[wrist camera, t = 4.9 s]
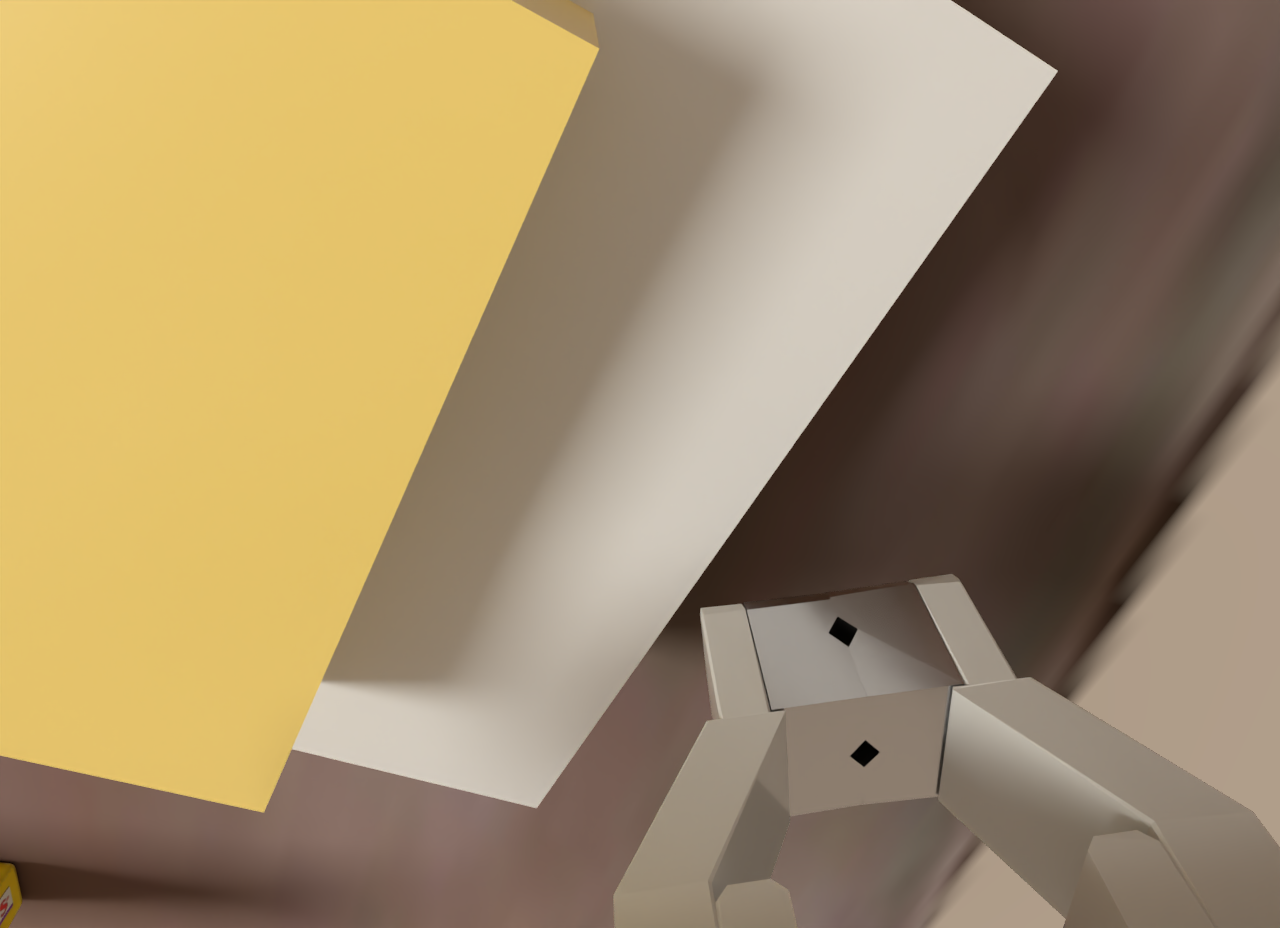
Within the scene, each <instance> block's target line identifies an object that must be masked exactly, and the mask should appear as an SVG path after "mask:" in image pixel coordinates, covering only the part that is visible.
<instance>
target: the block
mask: <svg viewBox="0 0 1280 928" xmlns="http://www.w3.org/2000/svg"><path fill="white" fill-rule="evenodd" d="M598 51H599V43H598V38H597V32H596V26H595V21H594V15H593V13H591V12H589V11H587V10H586V9H584V8H582V7H580V6H579V5H577V4H575V3H573V2H571V1H570V0H0V755H1V756H5V757H10V758H14V759H19V760H24V761H28V762H33V763H38V764H42V765H47V766H51V767H56V768H61V769H65V770H70V771H75V772H79V773H84V774H88V775H93V776H98V777H102V778H107V779H111V780H116V781H121V782H125V783H130V784H135V785H139V786H144V787H148V788H153V789H158V790H162V791H167V792H172V793H176V794H181V795H185V796H190V797H195V798H199V799H204V800H209V801H213V802H218V803H222V804H227V805H232V806H236V807H241V808H246V809H250V810H255V811H259V812H264V811H265V808H266V806H267V804H268V802H269V799H270V797H271V795H272V793H273V790H274V788H275V786H276V783H277V781H278V779H279V777H280V774H281V772H282V770H283V768H284V765H285V763H286V761H287V758H288V756H289V754H290V752H291V749H292V747H293V745H294V743H295V740H296V738H297V736H298V733H299V731H300V729H301V727H302V724H303V722H304V720H305V718H306V715H307V713H308V711H309V708H310V706H311V704H312V702H313V699H314V697H315V695H316V692H317V690H318V688H319V686H320V683H321V681H322V679H323V677H324V674H325V672H326V670H327V667H328V665H329V663H330V661H331V658H332V656H333V654H334V652H335V649H336V647H337V645H338V642H339V640H340V638H341V636H342V633H343V631H344V629H345V627H346V624H347V622H348V620H349V617H350V615H351V613H352V611H353V608H354V606H355V604H356V601H357V599H358V597H359V595H360V592H361V590H362V588H363V586H364V583H365V581H366V579H367V576H368V574H369V572H370V570H371V567H372V565H373V563H374V561H375V558H376V556H377V554H378V551H379V549H380V547H381V545H382V542H383V540H384V538H385V536H386V533H387V531H388V529H389V526H390V524H391V522H392V520H393V517H394V515H395V513H396V510H397V508H398V506H399V504H400V501H401V499H402V497H403V495H404V492H405V490H406V488H407V485H408V483H409V481H410V479H411V476H412V474H413V472H414V470H415V467H416V465H417V463H418V460H419V458H420V456H421V454H422V451H423V449H424V447H425V445H426V442H427V440H428V438H429V435H430V433H431V431H432V429H433V426H434V424H435V422H436V419H437V417H438V415H439V413H440V410H441V408H442V406H443V404H444V401H445V399H446V397H447V394H448V392H449V390H450V388H451V385H452V383H453V381H454V379H455V376H456V374H457V372H458V369H459V367H460V365H461V363H462V360H463V358H464V356H465V354H466V351H467V349H468V347H469V344H470V342H471V340H472V338H473V335H474V333H475V331H476V328H477V326H478V324H479V322H480V319H481V317H482V315H483V313H484V310H485V308H486V306H487V303H488V301H489V299H490V297H491V294H492V292H493V290H494V288H495V285H496V283H497V281H498V278H499V276H500V274H501V272H502V269H503V267H504V265H505V263H506V260H507V258H508V256H509V253H510V251H511V249H512V247H513V244H514V242H515V240H516V238H517V235H518V233H519V231H520V228H521V226H522V224H523V222H524V219H525V217H526V215H527V212H528V210H529V208H530V206H531V203H532V201H533V199H534V197H535V194H536V192H537V190H538V187H539V185H540V183H541V181H542V178H543V176H544V174H545V172H546V169H547V167H548V165H549V162H550V160H551V158H552V156H553V153H554V151H555V149H556V147H557V144H558V142H559V140H560V137H561V135H562V133H563V131H564V128H565V126H566V124H567V121H568V119H569V117H570V115H571V112H572V110H573V108H574V106H575V103H576V101H577V99H578V96H579V94H580V92H581V90H582V87H583V85H584V83H585V81H586V78H587V76H588V74H589V71H590V69H591V67H592V65H593V62H594V60H595V58H596V56H597V53H598Z"/></svg>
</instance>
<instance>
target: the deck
mask: <svg viewBox="0 0 1280 928" xmlns="http://www.w3.org/2000/svg"><path fill="white" fill-rule="evenodd" d="M570 1H571V2H573V3H575V4H577V5H579V6H580V7H582V8H584V9H586V10H587V11H589V12H591V13H593V15H594V21H595V26H596V32H597V38H598V43H599V51H598V53H597V56H596V58H595V60H594V62H593V65H592V67H591V69H590V71H589V74H588V76H587V78H586V81H585V83H584V85H583V87H582V90H581V92H580V94H579V96H578V99H577V101H576V103H575V106H574V108H573V110H572V112H571V115H570V117H569V119H568V121H567V124H566V126H565V128H564V131H563V133H562V135H561V137H560V140H559V142H558V144H557V147H556V149H555V151H554V153H553V156H552V158H551V160H550V162H549V165H548V167H547V169H546V172H545V174H544V176H543V178H542V181H541V183H540V185H539V187H538V190H537V192H536V194H535V197H534V199H533V201H532V203H531V206H530V208H529V210H528V212H527V215H526V217H525V219H524V222H523V224H522V226H521V228H520V231H519V233H518V235H517V238H516V240H515V242H514V244H513V247H512V249H511V251H510V253H509V256H508V258H507V260H506V263H505V265H504V267H503V269H502V272H501V274H500V276H499V278H498V281H497V283H496V285H495V288H494V290H493V292H492V294H491V297H490V299H489V301H488V303H487V306H486V308H485V310H484V313H483V315H482V317H481V319H480V322H479V324H478V326H477V328H476V331H475V333H474V335H473V338H472V340H471V342H470V344H469V347H468V349H467V351H466V354H465V356H464V358H463V360H462V363H461V365H460V367H459V369H458V372H457V374H456V376H455V379H454V381H453V383H452V385H451V388H450V390H449V392H448V394H447V397H446V399H445V401H444V404H443V406H442V408H441V410H440V413H439V415H438V417H437V419H436V422H435V424H434V426H433V429H432V431H431V433H430V435H429V438H428V440H427V442H426V445H425V447H424V449H423V451H422V454H421V456H420V458H419V460H418V463H417V465H416V467H415V470H414V472H413V474H412V476H411V479H410V481H409V483H408V485H407V488H406V490H405V492H404V495H403V497H402V499H401V501H400V504H399V506H398V508H397V510H396V513H395V515H394V517H393V520H392V522H391V524H390V526H389V529H388V531H387V533H386V536H385V538H384V540H383V542H382V545H381V547H380V549H379V551H378V554H377V556H376V558H375V561H374V563H373V565H372V567H371V570H370V572H369V574H368V576H367V579H366V581H365V583H364V586H363V588H362V590H361V592H360V595H359V597H358V599H357V601H356V604H355V606H354V608H353V611H352V613H351V615H350V617H349V620H348V622H347V624H346V627H345V629H344V631H343V633H342V636H341V638H340V640H339V642H338V645H337V647H336V649H335V652H334V654H333V656H332V658H331V661H330V663H329V665H328V667H327V670H326V672H325V674H324V677H323V679H322V681H321V683H320V686H319V688H318V690H317V692H316V695H315V697H314V699H313V702H312V704H311V706H310V708H309V711H308V713H307V715H306V718H305V720H304V722H303V724H302V727H301V729H300V731H299V733H298V736H297V738H296V740H295V743H294V745H293V747H292V749H294V750H298V751H302V752H306V753H310V754H314V755H318V756H323V757H327V758H331V759H335V760H339V761H343V762H347V763H352V764H356V765H360V766H364V767H368V768H372V769H376V770H381V771H385V772H389V773H393V774H397V775H401V776H406V777H410V778H414V779H418V780H422V781H426V782H430V783H435V784H439V785H443V786H447V787H451V788H455V789H459V790H464V791H468V792H472V793H476V794H480V795H484V796H489V797H493V798H497V799H501V800H505V801H509V802H513V803H518V804H522V805H526V806H530V807H534V808H537V807H538V805H539V804H540V802H541V801H542V800H543V798H544V797H545V795H546V794H547V793H548V791H549V790H550V788H551V787H552V786H553V784H554V783H555V781H556V780H557V778H558V777H559V776H560V774H561V773H562V771H563V770H564V769H565V767H566V766H567V764H568V763H569V761H570V760H571V759H572V757H573V756H574V754H575V753H576V752H577V750H578V749H579V747H580V746H581V745H582V743H583V742H584V740H585V739H586V737H587V736H588V735H589V733H590V732H591V730H592V729H593V728H594V726H595V725H596V723H597V722H598V720H599V719H600V718H601V716H602V715H603V713H604V712H605V711H606V709H607V708H608V706H609V705H610V704H611V702H612V701H613V699H614V698H615V696H616V695H617V694H618V692H619V691H620V689H621V688H622V687H623V685H624V684H625V682H626V681H627V680H628V678H629V677H630V675H631V674H632V672H633V671H634V670H635V668H636V667H637V665H638V664H639V663H640V661H641V660H642V658H643V657H644V655H645V654H646V653H647V651H648V650H649V648H650V647H651V646H652V644H653V643H654V641H655V640H656V639H657V637H658V636H659V634H660V633H661V631H662V630H663V629H664V627H665V626H666V624H667V623H668V622H669V620H670V619H671V617H672V616H673V614H674V613H675V612H676V610H677V609H678V607H679V606H680V605H681V603H682V602H683V600H684V599H685V598H686V596H687V595H688V593H689V592H690V590H691V589H692V588H693V586H694V585H695V583H696V582H697V581H698V579H699V578H700V576H701V575H702V574H703V572H704V571H705V569H706V568H707V566H708V565H709V564H710V562H711V561H712V559H713V558H714V557H715V555H716V554H717V552H718V551H719V549H720V548H721V547H722V545H723V544H724V542H725V541H726V540H727V538H728V537H729V535H730V534H731V533H732V531H733V530H734V528H735V527H736V525H737V524H738V523H739V521H740V520H741V518H742V517H743V516H744V514H745V513H746V511H747V510H748V508H749V507H750V506H751V504H752V503H753V501H754V500H755V499H756V497H757V496H758V494H759V493H760V492H761V490H762V489H763V487H764V486H765V484H766V483H767V482H768V480H769V479H770V477H771V476H772V475H773V473H774V472H775V470H776V469H777V468H778V466H779V465H780V463H781V462H782V460H783V459H784V458H785V456H786V455H787V453H788V452H789V451H790V449H791V448H792V446H793V445H794V443H795V442H796V441H797V439H798V438H799V436H800V435H801V434H802V432H803V431H804V429H805V428H806V427H807V425H808V424H809V422H810V421H811V419H812V418H813V417H814V415H815V414H816V412H817V411H818V410H819V408H820V407H821V405H822V404H823V402H824V401H825V400H826V398H827V397H828V395H829V394H830V393H831V391H832V390H833V388H834V387H835V386H836V384H837V383H838V381H839V380H840V378H841V377H842V376H843V374H844V373H845V371H846V370H847V369H848V367H849V366H850V364H851V363H852V361H853V360H854V359H855V357H856V356H857V354H858V353H859V352H860V350H861V349H862V347H863V346H864V345H865V343H866V342H867V340H868V339H869V337H870V336H871V335H872V333H873V332H874V330H875V329H876V328H877V326H878V325H879V323H880V322H881V321H882V319H883V318H884V316H885V315H886V313H887V312H888V311H889V309H890V308H891V306H892V305H893V304H894V302H895V301H896V299H897V298H898V296H899V295H900V294H901V292H902V291H903V289H904V288H905V287H906V285H907V284H908V282H909V281H910V280H911V278H912V277H913V275H914V274H915V272H916V271H917V270H918V268H919V267H920V265H921V264H922V263H923V261H924V260H925V258H926V257H927V255H928V254H929V253H930V251H931V250H932V248H933V247H934V246H935V244H936V243H937V241H938V240H939V239H940V237H941V236H942V234H943V233H944V231H945V230H946V229H947V227H948V226H949V224H950V223H951V222H952V220H953V219H954V217H955V216H956V215H957V213H958V212H959V210H960V209H961V207H962V206H963V205H964V203H965V202H966V200H967V199H968V198H969V196H970V195H971V193H972V192H973V190H974V189H975V188H976V186H977V185H978V183H979V182H980V181H981V179H982V178H983V176H984V175H985V174H986V172H987V171H988V169H989V168H990V166H991V165H992V164H993V162H994V161H995V159H996V158H997V157H998V155H999V154H1000V152H1001V151H1002V149H1003V148H1004V147H1005V145H1006V144H1007V142H1008V141H1009V140H1010V138H1011V137H1012V135H1013V134H1014V133H1015V131H1016V130H1017V128H1018V127H1019V125H1020V124H1021V123H1022V121H1023V120H1024V118H1025V117H1026V116H1027V114H1028V113H1029V111H1030V110H1031V108H1032V107H1033V106H1034V104H1035V103H1036V101H1037V100H1038V99H1039V97H1040V96H1041V94H1042V93H1043V92H1044V90H1045V89H1046V87H1047V86H1048V84H1049V83H1050V82H1051V80H1052V79H1053V77H1054V76H1055V75H1056V73H1057V72H1058V71H1057V70H1056V69H1054V68H1053V67H1051V66H1050V65H1048V64H1047V63H1045V62H1044V61H1042V60H1041V59H1039V58H1038V57H1036V56H1035V55H1033V54H1031V53H1030V52H1028V51H1027V50H1025V49H1024V48H1022V47H1021V46H1019V45H1018V44H1016V43H1015V42H1013V41H1012V40H1010V39H1009V38H1007V37H1006V36H1004V35H1003V34H1001V33H1000V32H998V31H997V30H995V29H994V28H992V27H991V26H989V25H988V24H986V23H985V22H983V21H982V20H980V19H979V18H977V17H976V16H974V15H973V14H971V13H970V12H968V11H967V10H965V9H964V8H962V7H960V6H959V5H957V4H956V3H954V2H953V1H951V0H570Z"/></svg>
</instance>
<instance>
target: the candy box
mask: <svg viewBox="0 0 1280 928" xmlns="http://www.w3.org/2000/svg"><path fill="white" fill-rule="evenodd" d="M21 904H22V896H21V892H20V887H19V882H18V877H17V872H16V869H15V866H14V865H13V864H11V863H1V862H0V928H8V927H9V926H10V924H11V922H12V920H13V919H14V917H15V915H16V913H17V912H18V910H19V908H20V906H21Z"/></svg>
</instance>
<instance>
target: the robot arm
mask: <svg viewBox="0 0 1280 928" xmlns="http://www.w3.org/2000/svg"><path fill="white" fill-rule="evenodd" d="M700 619H701V628H702V637H703V647H704V656H705V665H706V674H707V682H708V690H709V698H710V706H711V714H712V720H710V721H706V723H705V725H704V727H703V729H702V731H701V733H700V735H699V736H698V738H697V740H696V742H695V744H694V746H693V748H692V750H691V751H690V753H689V755H688V757H687V759H686V761H685V763H684V764H683V766H682V768H681V770H680V772H679V774H678V776H677V778H676V779H675V781H674V783H673V785H672V787H671V789H670V791H669V792H668V794H667V796H666V798H665V800H664V802H663V804H662V806H661V807H660V809H659V811H658V813H657V815H656V817H655V819H654V821H653V822H652V824H651V826H650V828H649V830H648V832H647V834H646V835H645V837H644V839H643V841H642V843H641V845H640V847H639V849H638V850H637V852H636V854H635V856H634V858H633V860H632V862H631V864H630V865H629V867H628V869H627V871H626V873H625V875H624V877H623V878H622V880H621V882H620V884H619V886H618V888H617V890H616V892H615V893H614V895H613V898H614V926H615V928H797V924H796V919H795V915H794V911H793V906H792V902H791V898H790V893H789V890H788V889H786V888H784V887H783V886H781V885H780V884H778V883H776V882H775V881H773V880H772V879H770V878H771V875H772V872H773V870H774V867H775V864H776V861H777V858H778V855H779V852H780V849H781V846H782V843H783V840H784V838H785V835H786V832H787V829H788V826H789V823H790V816H795V815H801V814H807V813H814V812H820V811H826V810H832V809H838V808H844V807H850V806H857V805H862V804H873V803H882V802H891V801H901V800H910V799H920V798H929V797H938V801H939V802H940V803H941V804H943V805H944V806H945V807H946V808H947V809H948V810H949V811H950V812H951V813H952V814H953V815H954V816H955V817H957V818H958V819H959V820H960V821H961V822H962V823H963V824H964V825H965V826H966V827H967V828H968V829H969V830H971V831H972V832H973V833H974V834H975V835H976V836H977V837H978V838H979V839H980V840H981V841H982V842H983V843H985V844H986V845H987V846H988V847H989V848H990V849H991V850H992V851H993V852H994V853H995V854H997V856H999V857H1000V858H1001V859H1002V860H1003V861H1004V862H1005V863H1006V864H1007V865H1008V866H1010V868H1011V869H1013V870H1014V871H1015V872H1016V873H1017V874H1018V875H1019V876H1020V877H1021V878H1022V879H1023V880H1024V881H1026V882H1027V883H1028V884H1029V885H1030V886H1031V887H1032V888H1033V889H1034V890H1035V891H1036V892H1037V893H1039V894H1040V895H1041V896H1042V897H1043V898H1044V899H1045V900H1046V901H1047V902H1048V903H1049V904H1050V905H1051V906H1052V907H1054V908H1055V909H1056V910H1057V911H1058V912H1059V913H1060V914H1061V915H1062V916H1063V917H1064V918H1065V919H1066V921H1065V924H1064V927H1063V928H1280V847H1279V846H1278V845H1277V843H1276V842H1275V840H1274V839H1273V838H1272V836H1271V835H1270V834H1269V832H1268V831H1267V830H1266V828H1265V827H1264V826H1263V824H1262V823H1261V822H1260V820H1259V819H1258V818H1257V816H1256V815H1255V814H1254V812H1253V811H1251V810H1249V809H1248V808H1246V807H1244V806H1243V805H1241V804H1239V803H1238V802H1236V801H1234V800H1233V799H1231V798H1230V797H1228V796H1226V795H1224V794H1223V793H1221V792H1219V791H1218V790H1216V789H1215V788H1213V787H1211V786H1209V785H1208V784H1206V783H1205V782H1203V781H1201V780H1200V779H1198V778H1197V777H1195V776H1193V775H1191V774H1190V773H1188V772H1187V771H1185V770H1183V769H1181V768H1180V767H1178V766H1177V765H1175V764H1173V763H1172V762H1170V761H1168V760H1167V759H1165V758H1163V757H1162V756H1160V755H1158V754H1157V753H1155V752H1154V751H1152V750H1150V749H1149V748H1147V747H1145V746H1144V745H1142V744H1140V743H1139V742H1137V741H1135V740H1134V739H1132V738H1130V737H1129V736H1127V735H1125V734H1124V733H1122V732H1120V731H1119V730H1117V729H1116V728H1114V727H1112V726H1111V725H1109V724H1107V723H1106V722H1104V721H1102V720H1101V719H1099V718H1097V717H1095V716H1094V715H1092V714H1091V713H1089V712H1088V711H1086V710H1084V709H1083V708H1081V707H1079V706H1078V705H1076V704H1074V703H1073V702H1071V701H1069V700H1068V699H1066V698H1064V697H1063V696H1061V695H1059V694H1058V693H1056V692H1055V691H1053V690H1051V689H1050V688H1048V687H1046V686H1045V685H1043V684H1041V683H1040V682H1038V681H1036V680H1035V679H1033V678H1031V677H1027V678H1017V677H1016V676H1015V674H1014V672H1013V670H1012V669H1011V667H1010V665H1009V664H1008V662H1007V660H1006V658H1005V657H1004V655H1003V653H1002V652H1001V650H1000V648H999V646H998V645H997V643H996V641H995V639H994V638H993V636H992V634H991V633H990V631H989V629H988V627H987V626H986V624H985V622H984V621H983V619H982V617H981V615H980V614H979V612H978V610H977V609H976V607H975V605H974V603H973V602H972V600H971V598H970V596H969V595H968V593H967V591H966V590H965V588H964V586H963V584H962V583H961V581H960V579H959V578H957V577H956V576H954V575H953V574H947V575H940V576H933V577H926V578H920V579H913V580H909V581H901V582H894V583H887V584H880V585H873V586H867V587H860V588H853V589H846V590H839V591H833V592H826V593H822V594H813V595H804V596H795V597H786V598H778V599H769V600H760V601H751V602H743V605H742V604H734V605H724V606H715V607H705V608H700Z"/></svg>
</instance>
